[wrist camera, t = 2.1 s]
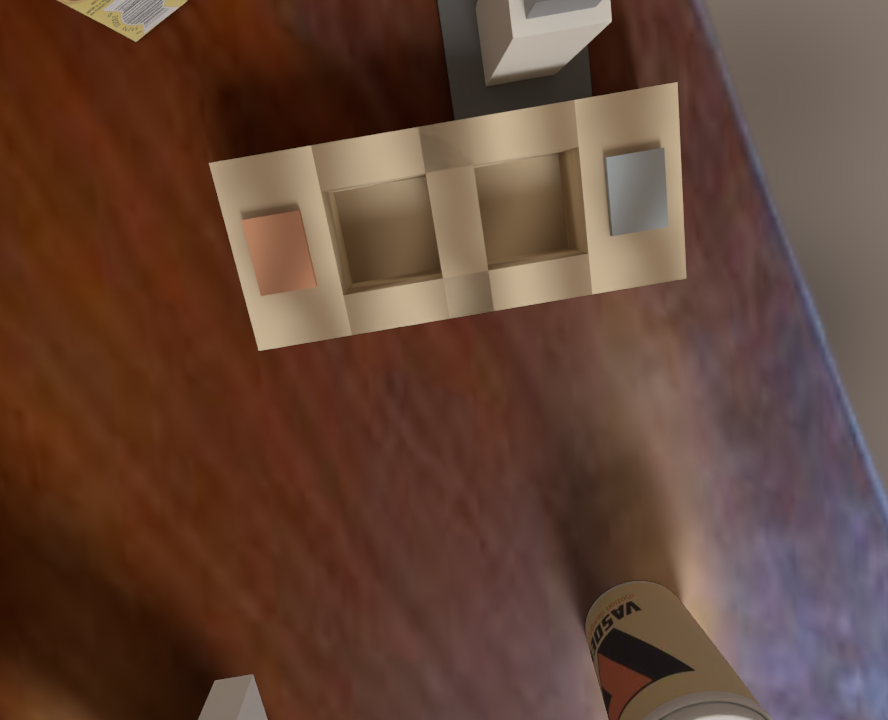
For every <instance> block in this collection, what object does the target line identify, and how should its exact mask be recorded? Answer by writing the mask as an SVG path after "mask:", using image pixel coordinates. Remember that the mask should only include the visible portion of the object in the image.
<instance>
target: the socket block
mask: <svg viewBox="0 0 888 720" xmlns="http://www.w3.org/2000/svg"><path fill="white" fill-rule="evenodd" d="M209 165H210V169H211V173H212V176H213V180H214V184H215V188H216V192H217V195H218V199H219V203H220V207H221V210H222V214H223V218H224V222H225V225H226V229H227V233H228V237H229V241H230V244H231V248H232V252H233V256H234V259H235V263H236V267H237V271H238V274H239V278H240V282H241V286H242V289H243V293H244V297H245V301H246V305H247V308H248V312H249V316H250V320H251V323H252V327H253V331H254V335H255V338H256V342H257V346H258V350H259V351H261V350H267V349H273V348H279V347H285V346H291V345H296V344H302V343H308V342H314V341H320V340H326V339H332V338H338V337H344V336H349V335H355V334H361V333H367V332H373V331H379V330H385V329H391V328H397V327H403V326H408V325H414V324H420V323H426V322H432V321H438V320H444V319H450V318H456V317H461V316H467V315H473V314H479V313H485V312H491V311H497V310H503V309H509V308H514V307H520V306H526V305H532V304H538V303H544V302H550V301H556V300H562V299H567V298H573V297H579V296H585V295H591V294H597V293H603V292H609V291H615V290H621V289H626V288H632V287H638V286H644V285H650V284H656V283H662V282H668V281H674V280H679V279H685V278H686V260H685V238H684V216H683V194H682V172H681V150H680V128H679V106H678V83H677V82H675V83H670V84H664V85H658V86H652V87H647V88H641V89H635V90H629V91H623V92H618V93H612V94H606V95H600V96H594V97H589V98H583V99H577V100H571V101H566V102H560V103H554V104H548V105H542V106H537V107H531V108H525V109H519V110H513V111H508V112H502V113H496V114H490V115H485V116H479V117H473V118H467V119H461V120H456V121H450V122H444V123H438V124H432V125H427V126H421V127H415V128H409V129H404V130H398V131H392V132H386V133H380V134H375V135H369V136H363V137H357V138H351V139H346V140H340V141H334V142H328V143H322V144H317V145H311V146H305V147H299V148H294V149H288V150H282V151H276V152H270V153H265V154H259V155H253V156H247V157H241V158H236V159H230V160H224V161H218V162H213V163H209Z"/></svg>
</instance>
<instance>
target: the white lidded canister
mask: <svg viewBox="0 0 888 720" xmlns="http://www.w3.org/2000/svg"><path fill="white" fill-rule="evenodd" d="M585 631H586V638H587V642H588V646H589V650H590V654H591V657H592V661H593V665H594V668H595V672H596V675H597V679H598V682H599V686H600V690H601V693H602V697H603V700H604V704H605V707H606V711H607V714H608V718H609V720H773V718H772V717H771V716H770V715H769V713H768V712H767V711H766V710H765V709H764V708H763V707H762V706H760V705H759V703H758V702H757V701H756V699H755V698H754V696H753V695H752V694H751V692H750V691H749V690H748V688H747V687H746V686H745V684H744V683H743V682H742V680H741V679H740V678H739V676H738V675H737V674H736V672H735V671H734V670H733V668H732V667H731V666H730V665H729V663H728V662H727V661H726V659H725V658H724V657H723V655H722V654H721V653H720V651H719V650H718V649H717V647H716V646H715V645H714V644H713V642H712V641H711V640H710V638H709V637H708V636H707V634H706V633H705V632H704V631H703V629H702V628H701V627H700V625H699V624H698V623H697V622H696V620H695V619H694V618H693V616H692V615H691V614H690V612H689V611H688V610H687V609H686V607H685V606H684V605H683V604H682V603H681V601H680V600H679V599H678V598H677V597H676V595H675V594H674V593H672V592H671V591H670V590H669V589H667V588H665V587H664V586H662V585H659V584H657V583H653V582H648V581H631V582H626V583H623V584H619V585H617V586H615V587H613V588H611V589H609V590H608V591H606V592H605V593H603V594H602V595H601V596H600V597H599V598H598V599H597V600H596V601H595V602H594V604H593V605H592V607H591V608H590V610H589V613H588V615H587V618H586V624H585Z"/></svg>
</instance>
